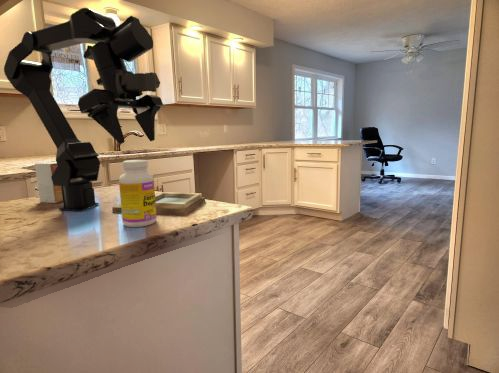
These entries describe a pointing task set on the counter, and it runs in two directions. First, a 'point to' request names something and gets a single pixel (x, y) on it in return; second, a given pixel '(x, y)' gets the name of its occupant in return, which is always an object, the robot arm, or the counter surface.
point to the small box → (47, 183)
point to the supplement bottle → (137, 194)
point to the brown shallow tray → (173, 203)
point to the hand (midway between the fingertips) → (138, 141)
